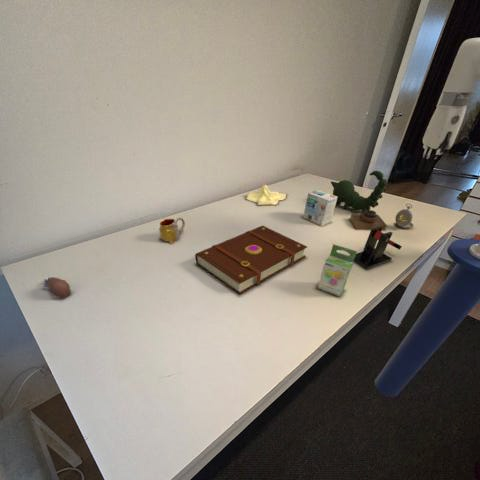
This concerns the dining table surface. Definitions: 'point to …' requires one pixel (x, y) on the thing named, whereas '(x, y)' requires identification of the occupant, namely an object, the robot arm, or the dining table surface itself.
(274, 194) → the cloth
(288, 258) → the book
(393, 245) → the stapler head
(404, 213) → the pocket watch
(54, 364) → the dining table surface
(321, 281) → the ink box
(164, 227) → the mug
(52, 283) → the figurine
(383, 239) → the black lever stand
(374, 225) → the button block
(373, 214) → the button
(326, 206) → the light bulb box
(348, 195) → the toy figurine
